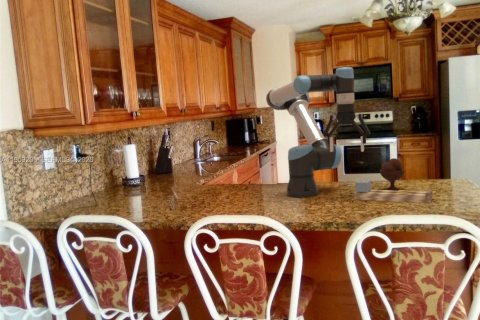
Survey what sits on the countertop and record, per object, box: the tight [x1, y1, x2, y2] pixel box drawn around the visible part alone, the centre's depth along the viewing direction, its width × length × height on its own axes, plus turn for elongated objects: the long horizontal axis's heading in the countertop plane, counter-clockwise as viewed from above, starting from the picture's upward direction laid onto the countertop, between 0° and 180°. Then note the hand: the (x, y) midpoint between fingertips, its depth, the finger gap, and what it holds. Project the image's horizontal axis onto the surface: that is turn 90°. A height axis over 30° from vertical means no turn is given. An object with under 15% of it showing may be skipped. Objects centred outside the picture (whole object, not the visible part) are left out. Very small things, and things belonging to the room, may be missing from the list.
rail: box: [354, 189, 434, 204], centre depth 174 cm, size 30×8×4 cm, turn 58°
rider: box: [355, 179, 373, 192], centre depth 180 cm, size 5×7×6 cm
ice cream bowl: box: [379, 158, 406, 191], centre depth 192 cm, size 11×11×15 cm
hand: (346, 151), depth 183 cm, fingers open, 13 cm apart
